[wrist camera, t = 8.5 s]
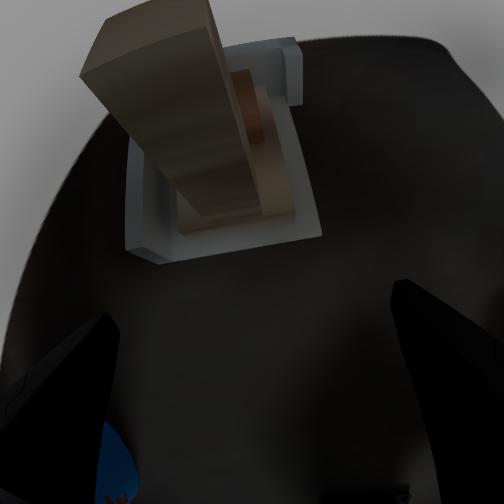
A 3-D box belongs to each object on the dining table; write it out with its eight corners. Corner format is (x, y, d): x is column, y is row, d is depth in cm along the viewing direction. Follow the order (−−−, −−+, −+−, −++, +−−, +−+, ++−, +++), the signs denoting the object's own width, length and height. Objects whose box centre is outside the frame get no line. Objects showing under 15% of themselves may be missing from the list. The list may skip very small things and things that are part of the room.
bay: (339, 232, 16) (358, 199, 11) (158, 264, 17) (114, 245, 12) (295, 85, 19) (293, 36, 14) (157, 116, 20) (131, 76, 15)
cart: (294, 226, 16) (294, 14, 4) (195, 244, 17) (29, 110, 4) (268, 109, 18) (238, -59, 6) (187, 127, 19) (106, -18, 6)
